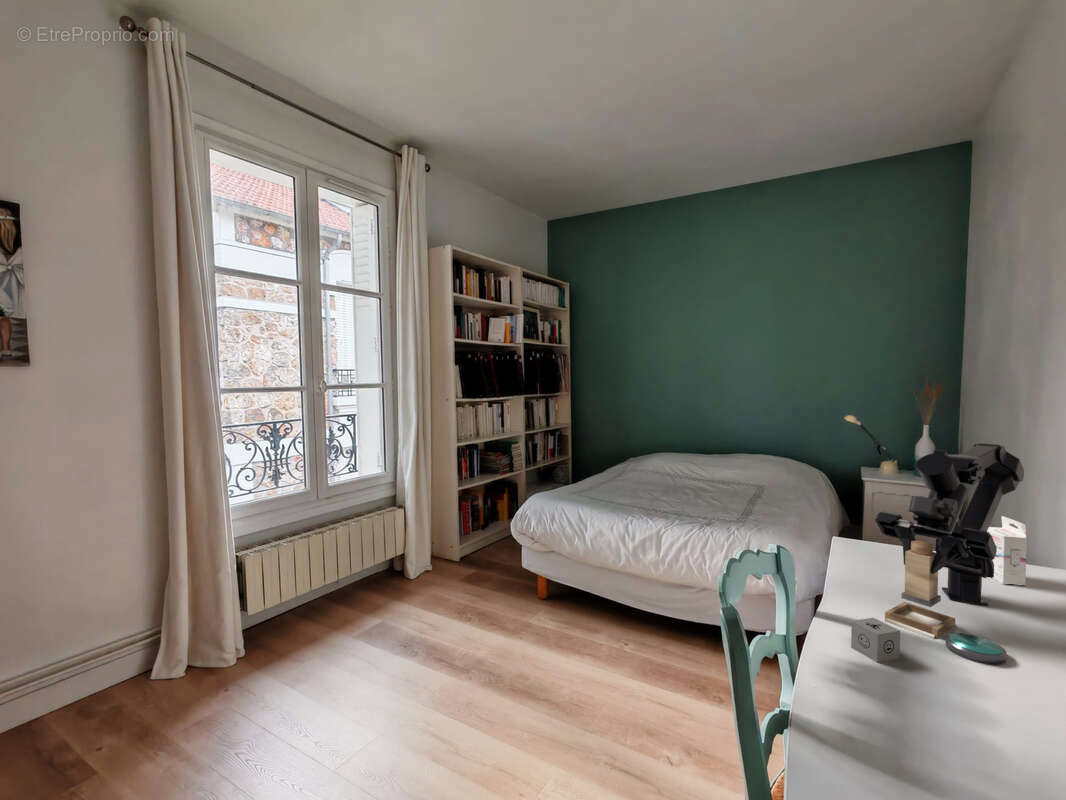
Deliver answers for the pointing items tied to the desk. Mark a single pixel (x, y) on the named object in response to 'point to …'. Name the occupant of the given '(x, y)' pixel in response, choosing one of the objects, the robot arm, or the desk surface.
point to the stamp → (920, 575)
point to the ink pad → (976, 648)
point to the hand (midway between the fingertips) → (918, 568)
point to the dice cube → (875, 639)
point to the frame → (920, 620)
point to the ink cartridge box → (1010, 552)
